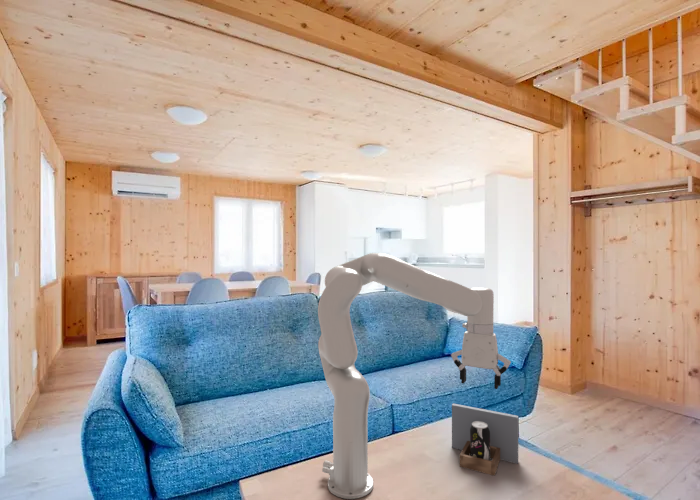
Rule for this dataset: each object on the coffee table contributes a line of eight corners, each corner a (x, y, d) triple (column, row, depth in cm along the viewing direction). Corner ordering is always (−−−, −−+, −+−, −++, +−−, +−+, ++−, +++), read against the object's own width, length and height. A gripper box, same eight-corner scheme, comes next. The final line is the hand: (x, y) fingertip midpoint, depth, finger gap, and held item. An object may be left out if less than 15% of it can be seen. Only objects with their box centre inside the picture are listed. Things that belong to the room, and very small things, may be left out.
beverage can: (492, 469, 117) (491, 428, 117) (472, 468, 118) (471, 427, 118) (489, 459, 123) (488, 420, 123) (469, 458, 124) (468, 419, 124)
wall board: (451, 447, 130) (451, 405, 130) (453, 445, 132) (453, 403, 131) (517, 463, 120) (517, 417, 120) (518, 461, 122) (518, 415, 122)
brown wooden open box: (459, 466, 119) (459, 454, 119) (467, 451, 128) (467, 440, 128) (494, 475, 114) (494, 463, 114) (500, 459, 123) (500, 448, 123)
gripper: (448, 327, 122) (448, 383, 122) (508, 334, 113) (508, 394, 113) (454, 323, 128) (454, 376, 128) (512, 329, 120) (512, 386, 120)
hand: (479, 384), depth 121 cm, fingers open, 9 cm apart
